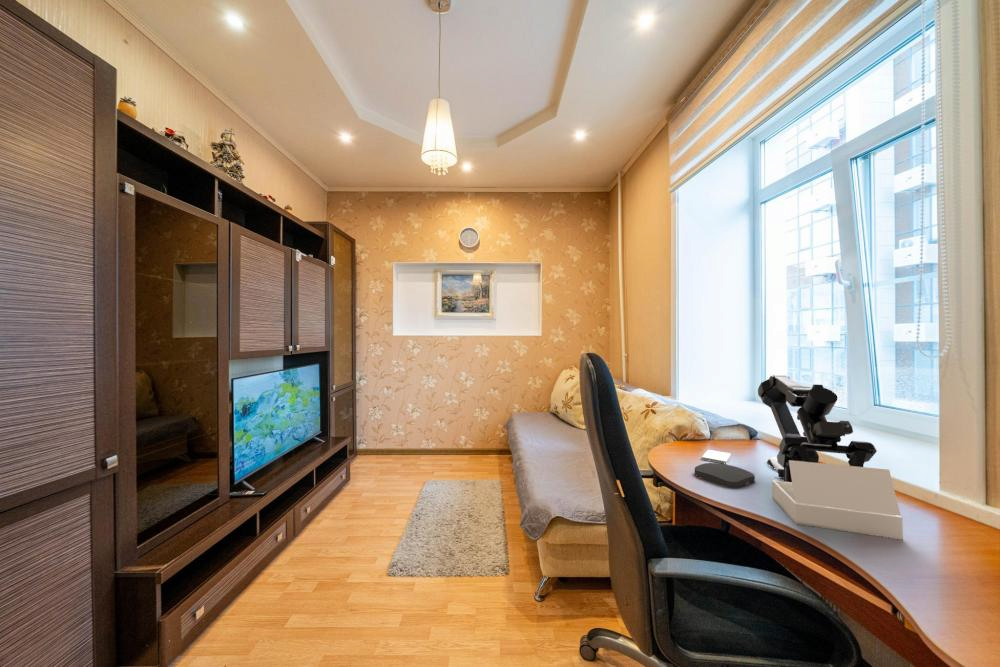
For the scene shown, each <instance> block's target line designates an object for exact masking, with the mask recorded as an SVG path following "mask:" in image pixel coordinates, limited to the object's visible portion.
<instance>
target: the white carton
mask: <svg viewBox="0 0 1000 667" xmlns="http://www.w3.org/2000/svg"><path fill="white" fill-rule="evenodd" d="M783 481H784V480H773V479H772V480H771V492H772V493H771V494H772V495H771V496H772V497H773V498H772V497H771V498H772V499H773V500H774V501H775V502H776V503H777V504H778V506H779V507H780V508H781V509H782V510H783V511H784V513H785V514H786V515H787V516H788V517H789V518H790V520H792V522H793V523H794V524H795V525H798V524H799V525H798V526H805V527H806V526H807V527H812V526H814V528H819V527H821V529H826V528H827V530H833V531H841V532H846V531H847V532H846V533H855V534H861V535H867V534H868V535H870V536H874V535H876V537H881V536H883V537H882V538H888V537H890V538H889V539H896V540H904V531H903V530H904V529H903V528H904V527H903V517H902V516H899V515H891V514H884V513H876V512H868V511H860V510H852V509H844V508H836V507H829V506H821V505H813V504H805V503H797V502H795V498H794V491H793V485H792V482H783Z"/></svg>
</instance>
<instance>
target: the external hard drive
mask: <svg viewBox="0 0 1000 667" xmlns="http://www.w3.org/2000/svg"><path fill="white" fill-rule="evenodd" d="M730 456H732V454H731V453H730V452H725V451H718V450H712V449H707V450H706V451H705V452H704V453H703V455H702V456H701V459H704V460H703V461H705V460H710V461H709V462H711V461H715V462H714V463H716V462H719V463H718V464H721V463H725V464H726V463H727V464H728V462H729V460H730V459H731V457H730ZM729 458H730V459H729ZM701 459H700V460H701ZM727 464H726V465H727Z"/></svg>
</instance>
